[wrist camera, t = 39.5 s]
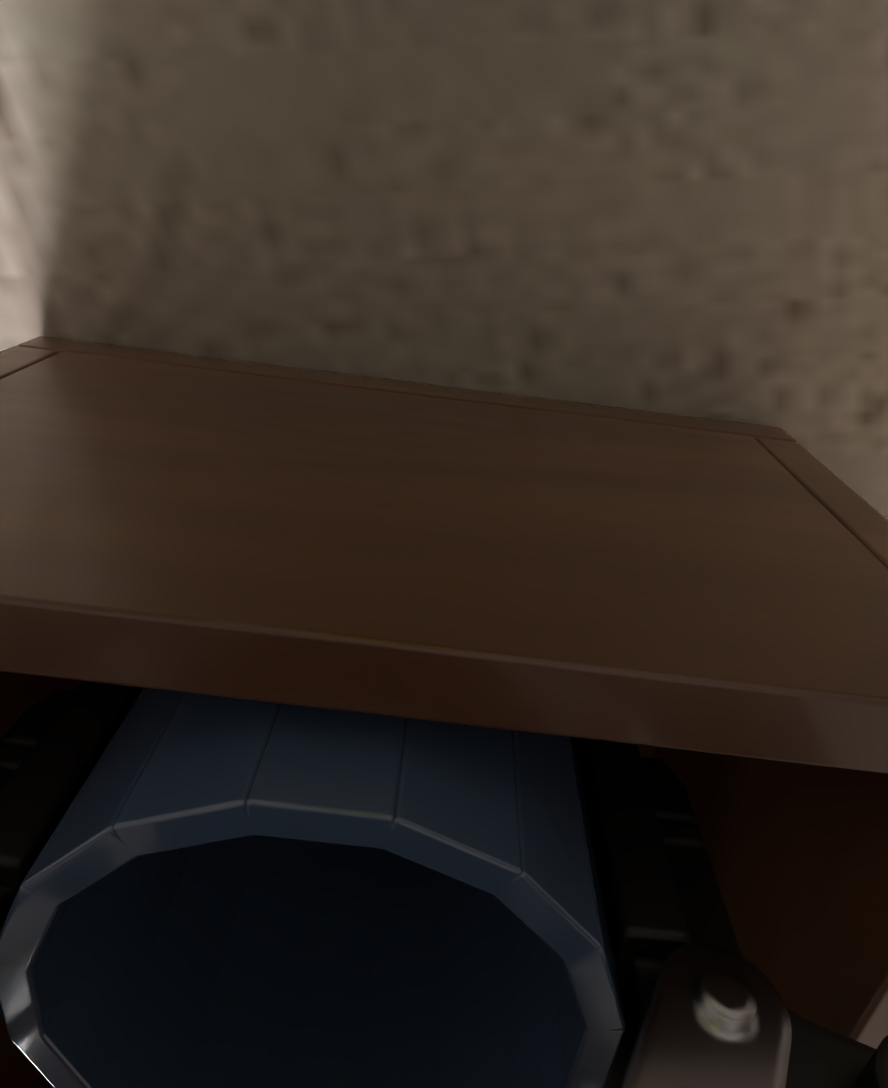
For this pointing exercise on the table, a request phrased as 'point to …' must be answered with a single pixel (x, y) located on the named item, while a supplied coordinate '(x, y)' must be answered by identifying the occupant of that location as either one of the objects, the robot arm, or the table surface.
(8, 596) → the chest
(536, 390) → the table surface
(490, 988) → the blue cup
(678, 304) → the table surface
